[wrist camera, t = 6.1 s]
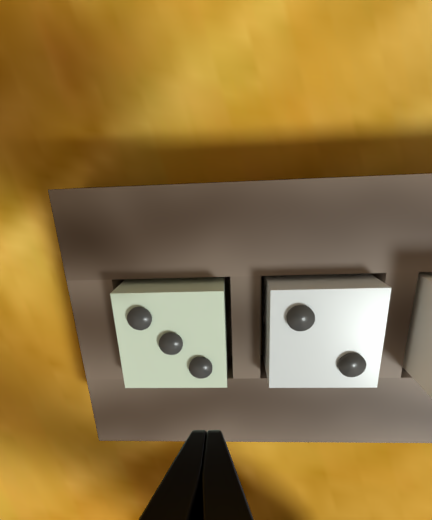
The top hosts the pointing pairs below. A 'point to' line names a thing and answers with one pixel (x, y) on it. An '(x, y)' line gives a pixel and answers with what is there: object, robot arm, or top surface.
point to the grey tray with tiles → (248, 297)
